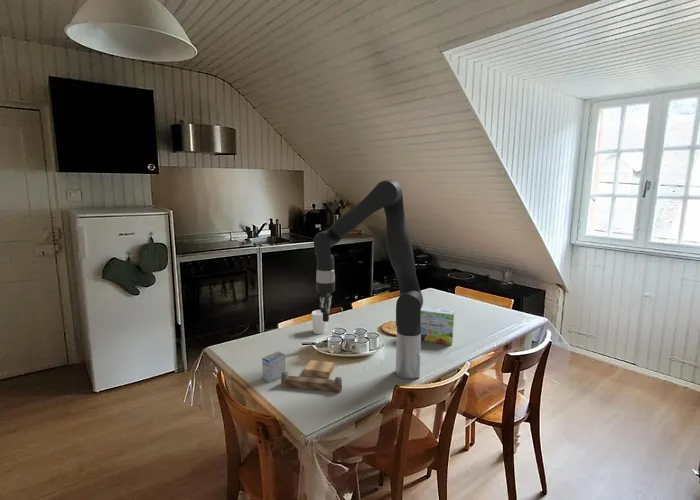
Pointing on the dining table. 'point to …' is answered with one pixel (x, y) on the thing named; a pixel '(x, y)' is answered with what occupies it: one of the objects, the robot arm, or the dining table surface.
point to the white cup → (318, 322)
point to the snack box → (437, 325)
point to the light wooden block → (319, 369)
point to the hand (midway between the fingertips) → (325, 320)
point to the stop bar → (311, 383)
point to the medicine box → (273, 366)
